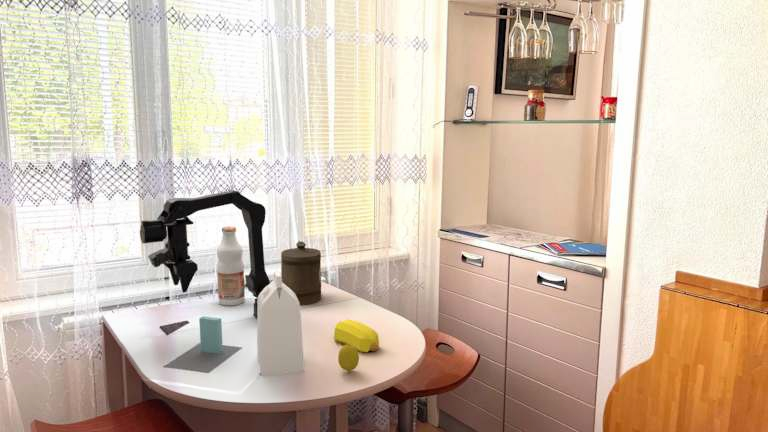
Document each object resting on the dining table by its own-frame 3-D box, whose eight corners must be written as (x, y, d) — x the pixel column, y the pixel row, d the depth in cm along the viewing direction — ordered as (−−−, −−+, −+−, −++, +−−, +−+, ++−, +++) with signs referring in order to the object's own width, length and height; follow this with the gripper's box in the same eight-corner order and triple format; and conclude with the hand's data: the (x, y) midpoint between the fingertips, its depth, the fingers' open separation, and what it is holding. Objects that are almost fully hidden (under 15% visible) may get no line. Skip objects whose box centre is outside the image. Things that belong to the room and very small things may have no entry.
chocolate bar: (187, 320, 194) (207, 336, 180) (187, 323, 194) (207, 339, 180) (159, 326, 188) (178, 343, 174) (159, 329, 188) (178, 346, 174)
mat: (200, 344, 175) (200, 342, 175) (242, 349, 171) (242, 347, 171) (163, 368, 158) (163, 366, 158) (208, 375, 154) (208, 373, 154)
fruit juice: (213, 301, 215) (210, 227, 210) (236, 296, 221) (233, 224, 216) (226, 307, 208) (223, 231, 203) (249, 302, 215) (247, 227, 210)
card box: (204, 348, 170) (203, 316, 168) (222, 351, 168) (221, 318, 167) (200, 351, 168) (199, 318, 166) (219, 353, 167) (217, 320, 165)
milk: (304, 370, 157) (302, 277, 153) (260, 376, 154) (257, 281, 150) (297, 353, 169) (296, 266, 164) (257, 358, 165) (254, 269, 161)
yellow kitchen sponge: (347, 333, 185) (327, 340, 180) (347, 313, 184) (327, 319, 178) (385, 350, 172) (366, 357, 167) (385, 329, 171) (366, 335, 165)
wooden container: (329, 298, 220) (328, 241, 216) (299, 308, 209) (298, 248, 205) (303, 290, 229) (302, 236, 226) (273, 299, 218) (271, 242, 215)
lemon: (338, 367, 159) (338, 340, 158) (358, 367, 160) (358, 339, 158) (338, 376, 154) (338, 348, 152) (359, 376, 154) (359, 347, 153)
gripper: (142, 237, 182) (145, 285, 184) (157, 248, 167) (161, 300, 169) (179, 233, 188) (181, 280, 191) (196, 243, 173) (199, 294, 176)
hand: (180, 288), depth 181 cm, fingers open, 9 cm apart
